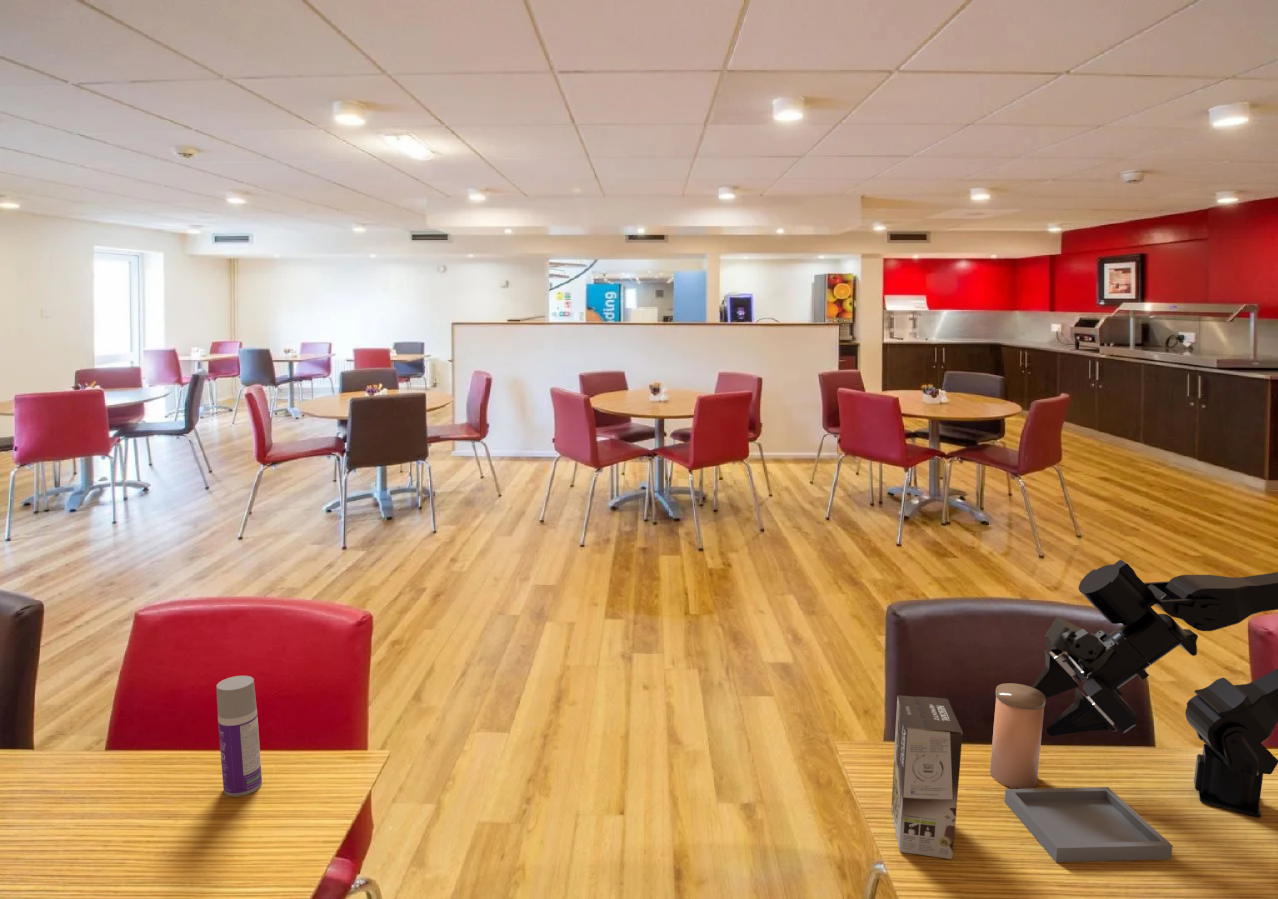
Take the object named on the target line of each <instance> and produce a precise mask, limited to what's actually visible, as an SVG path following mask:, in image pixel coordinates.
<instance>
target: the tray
mask: <svg viewBox="0 0 1278 899" xmlns="http://www.w3.org/2000/svg"><path fill="white" fill-rule="evenodd" d="M1004 791H1005V792H1004V803H1005V805H1007V806H1008V808H1009V809H1010V810H1011V811H1012V812H1013V814H1014V815H1015V816H1016V817H1017V818H1018V819H1019V821H1020V822H1021V823H1022V824H1023V825H1024V826H1025V828H1026V829H1027V830H1028V831H1029V832H1030V834H1031V835H1032V836H1033V837H1034V838H1035V840H1037V842H1039V844H1040V846H1041V847H1043V849H1044V850H1045V851H1046V852H1047V854H1048V855H1049V856H1050V857H1051V858H1052V859H1053V861H1055V863H1063V862H1064V863H1067V862H1068V863H1071V862H1072V863H1073V862H1107V861H1108V862H1110V861H1111V862H1112V861H1114V862H1115V861H1118V862H1119V861H1146V860H1147V861H1150V860H1151V861H1152V860H1153V861H1154V860H1155V861H1156V860H1172V854H1173V853H1172V852H1173V844H1172V843H1170V842H1169V840H1167V839H1166V838H1165V837H1164V836H1163V835H1162V834H1161V833H1160V832H1159V831H1158V830H1156V829H1155V828H1154V827H1153V826H1151V825H1150V823H1148V821H1146V820H1145V819H1144V818H1143V817H1142V816H1140V814H1139V813H1137V812H1136V811H1135V810H1134V809H1133V808H1132V807H1131V806H1129V804H1127V803H1126V802H1125V801H1124V799H1122V798H1120V796H1119V795H1118V794H1116V793H1115V792H1114V791H1113V790H1112V789H1111V788H1110V787H1109V786H1104V787H1103V786H1096V787H1095V786H1093V787H1091V786H1090V787H1089V786H1087V787H1053V788H1052V787H1048V788H1047V787H1046V788H1043V787H1041V788H1040V787H1039V788H1031V789H1016V788H1006V789H1005V790H1004Z"/></svg>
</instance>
